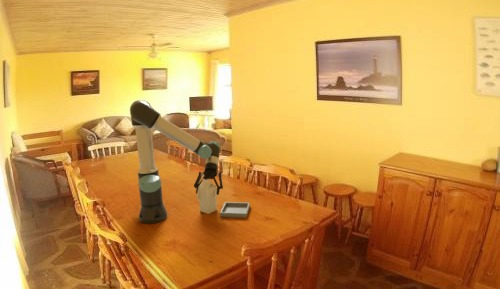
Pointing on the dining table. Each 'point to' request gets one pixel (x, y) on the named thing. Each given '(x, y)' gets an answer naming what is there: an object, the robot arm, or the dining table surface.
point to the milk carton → (207, 197)
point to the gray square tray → (235, 209)
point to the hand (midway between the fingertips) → (206, 199)
